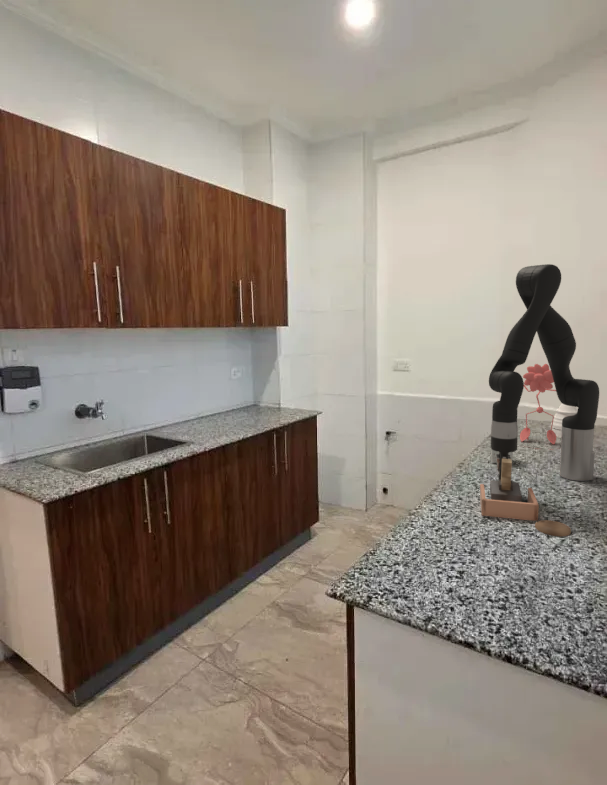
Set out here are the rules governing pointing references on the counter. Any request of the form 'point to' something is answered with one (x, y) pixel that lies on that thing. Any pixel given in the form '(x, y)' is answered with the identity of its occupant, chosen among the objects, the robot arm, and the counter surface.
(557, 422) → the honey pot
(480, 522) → the counter surface
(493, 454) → the supplement box
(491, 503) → the three-sided wooden frame
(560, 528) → the lid
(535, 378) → the figurine
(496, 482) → the mounted wooden block
